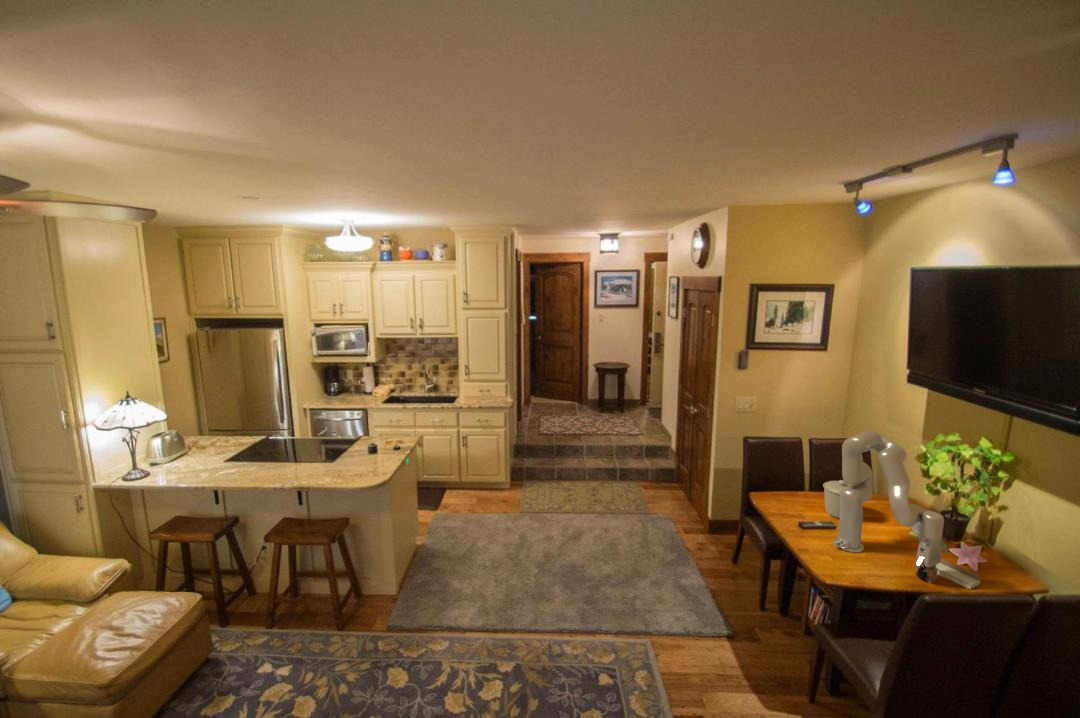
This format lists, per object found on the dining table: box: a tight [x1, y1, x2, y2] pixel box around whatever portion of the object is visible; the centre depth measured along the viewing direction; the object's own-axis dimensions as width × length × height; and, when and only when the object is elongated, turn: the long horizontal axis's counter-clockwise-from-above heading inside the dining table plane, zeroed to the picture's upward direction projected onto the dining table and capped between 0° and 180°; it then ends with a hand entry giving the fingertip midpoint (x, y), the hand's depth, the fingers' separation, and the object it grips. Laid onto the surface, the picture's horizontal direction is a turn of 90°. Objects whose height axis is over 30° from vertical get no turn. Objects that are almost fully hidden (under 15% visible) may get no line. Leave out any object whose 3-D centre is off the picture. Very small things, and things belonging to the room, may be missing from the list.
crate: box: [914, 563, 938, 584], centre depth 205 cm, size 5×6×6 cm
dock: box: [936, 557, 982, 590], centre depth 207 cm, size 8×19×4 cm, turn 23°
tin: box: [910, 522, 944, 539], centre depth 237 cm, size 15×3×8 cm, turn 12°
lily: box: [948, 541, 988, 572], centre depth 214 cm, size 12×12×10 cm
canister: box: [822, 479, 850, 520], centre depth 260 cm, size 18×18×21 cm
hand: (925, 576), depth 205 cm, fingers open, 5 cm apart
